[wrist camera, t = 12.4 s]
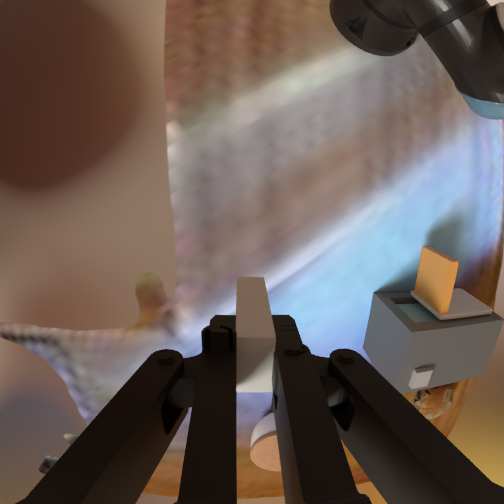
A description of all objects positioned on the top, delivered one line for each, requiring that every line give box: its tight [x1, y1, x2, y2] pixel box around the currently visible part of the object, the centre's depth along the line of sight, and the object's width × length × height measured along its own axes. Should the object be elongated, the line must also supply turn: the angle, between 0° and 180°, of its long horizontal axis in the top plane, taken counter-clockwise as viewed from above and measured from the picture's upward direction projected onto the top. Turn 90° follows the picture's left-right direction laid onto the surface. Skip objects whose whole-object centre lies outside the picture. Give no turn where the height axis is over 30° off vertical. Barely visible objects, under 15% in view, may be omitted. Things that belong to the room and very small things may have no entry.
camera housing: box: [363, 291, 504, 394], centre depth 45 cm, size 11×22×15 cm, turn 88°
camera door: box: [411, 246, 493, 320], centre depth 43 cm, size 9×12×10 cm
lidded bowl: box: [250, 413, 281, 471], centre depth 52 cm, size 13×13×11 cm
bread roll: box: [414, 384, 453, 419], centre depth 56 cm, size 10×10×8 cm
